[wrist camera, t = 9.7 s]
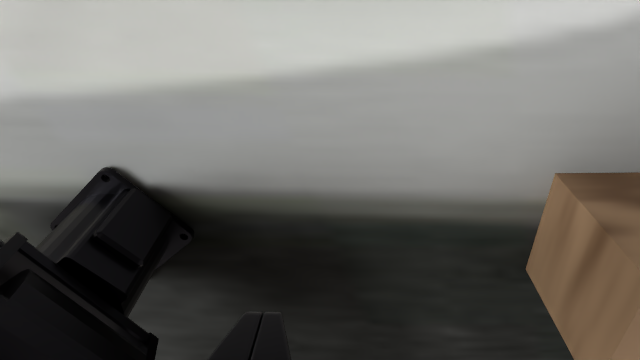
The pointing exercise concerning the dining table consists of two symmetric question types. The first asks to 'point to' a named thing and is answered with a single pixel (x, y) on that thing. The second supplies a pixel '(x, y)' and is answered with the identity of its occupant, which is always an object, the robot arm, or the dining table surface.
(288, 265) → the dining table surface
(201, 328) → the dining table surface
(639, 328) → the walnut block
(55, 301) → the robot arm
